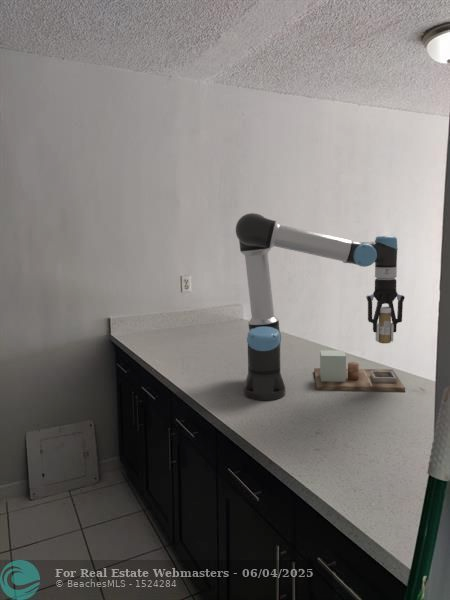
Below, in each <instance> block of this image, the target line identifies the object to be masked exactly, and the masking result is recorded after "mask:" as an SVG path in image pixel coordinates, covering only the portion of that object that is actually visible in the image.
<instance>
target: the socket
mask: <svg viewBox="0 0 450 600" xmlns="http://www.w3.org/2000/svg"><path fill="white" fill-rule="evenodd" d="M395 374H396V373H395ZM395 374H394V373H393V372H392V371H370V377H371V378H372V380H373V382H374V383H397V377H398V376H397V377H396V376H395Z"/></svg>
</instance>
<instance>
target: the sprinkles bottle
mask: <svg viewBox="0 0 450 600" xmlns="http://www.w3.org/2000/svg"><path fill="white" fill-rule="evenodd" d="M391 323H392V319H391V308H390V307H389V305H388V306H386V305H382V307H381V308H380V314H379V318H378V324H379V342H378V343H379V344H391V341H390V334H391Z"/></svg>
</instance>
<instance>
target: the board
mask: <svg viewBox="0 0 450 600" xmlns="http://www.w3.org/2000/svg"><path fill="white" fill-rule="evenodd" d="M313 370H314V377H315V378H314V379H315V385H316V390H317V391H352V392H353V391H355V392H356V391H358V392H359V391H360V392H364V391H365V392H400V393H401V392H403V393H405V392H406V386H405V385H404V383H403V382H402V381H401V380H400V378H399V376H398V375H397V374H396V372H395V371H394V369H386V368H385V369H382V368H381V369H380V368H379V369H378V368H377V369H376V368H360V364H359V362H355V361H349V362H348V363H347V368H346V382H330V381H321V377H320V367H319V368H318V367H317V368H313ZM370 371H392V372H393V373H394V374H395V376H396V377H397V383H374V382H373V380H372V378H371V377H370Z"/></svg>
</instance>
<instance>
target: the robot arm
mask: <svg viewBox="0 0 450 600" xmlns="http://www.w3.org/2000/svg"><path fill="white" fill-rule="evenodd" d="M235 234H236V237H237V239H238V241H239V251H240V253H241V254H242V255H243V256H244V259H245V269H246V270H245V271H246V278H247V286H248V295H249V296H248V297H249V304H250V312H251V314H250V315H251V318H250V319H249V321H248V332H247V336H246V343H247V375H246V379H245V382H244V385H243V395H244V396H245V397H246V398H248V399H250V400H251V399H252V400H259V401H273V400H277V399H278V400H279V399H280V398H282V397H284V396H285V395H286V386H285V385H286V384H285V382H284V380H283V376H282V373H281V343H282V334H281V330H280V321H279V318H278V317H277V316H275V313H274V302H273V292H272V283H271V274H270V273H271V272H270V264H269V252H270V251H271V249H272V248H273V247H277V248H281V249H285V250H289V251H294V252H299V253H303V254H307V255H312V256H316V257H317V256H318V257H321V258H327V259H331V260H335V261H340V262H342V263H344V264H353V265H357V266H359V267H363V268H364V267H369V266H372V265H373V264H374V278H376V279H374V291H373V294H369V295H368V294H367V295H366V296H365V297H366V300H367V321H368V322H369V323H371V324H372V331H373V333H375V341H376V342H378V343H379V314H380V308H381V307H382V306H383V305H386V304H387V305H388V307H390V308H391V334H390V341H391V342H392V343H393V342H394V333H397V326H398V325H397V324H399V323H402V322H403V309H404V308H403V307H404V300H405V298H406V297H405V295H403V294H399V293H398V292H397V279H396V278H397V272H398V271H397V270H398V269H397V268H398V267H397V265H398V238H397V237H396V236H393V235H380V236H376V237H375V240H374V241H370V242H369V241H367V242H366V241H364V242H363V241H360V242H359V241H355V240H351V239H350V240H349V239H346V238H342V237H337V236H333V235H328V234H324V233H318V232H314V231H311V230H304V229H299V228H296V227H291V226H287V225H282V224H279V222H278V220H274V219H273V220H272V219H270V218H266V217H264V216H263V215H261V214H259V213H254V212H253V213H252V212H251V213H246V214H244V215H242V216H241V217H240V218H239V219H238V221H237V223H236V225H235ZM374 298H375V300H376V308H375V311H374V314H373V300H374ZM395 299H396V300H397V314H396V312H395V307H394V301H395ZM396 315H397V317H396ZM391 342H390V343H391Z"/></svg>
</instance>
